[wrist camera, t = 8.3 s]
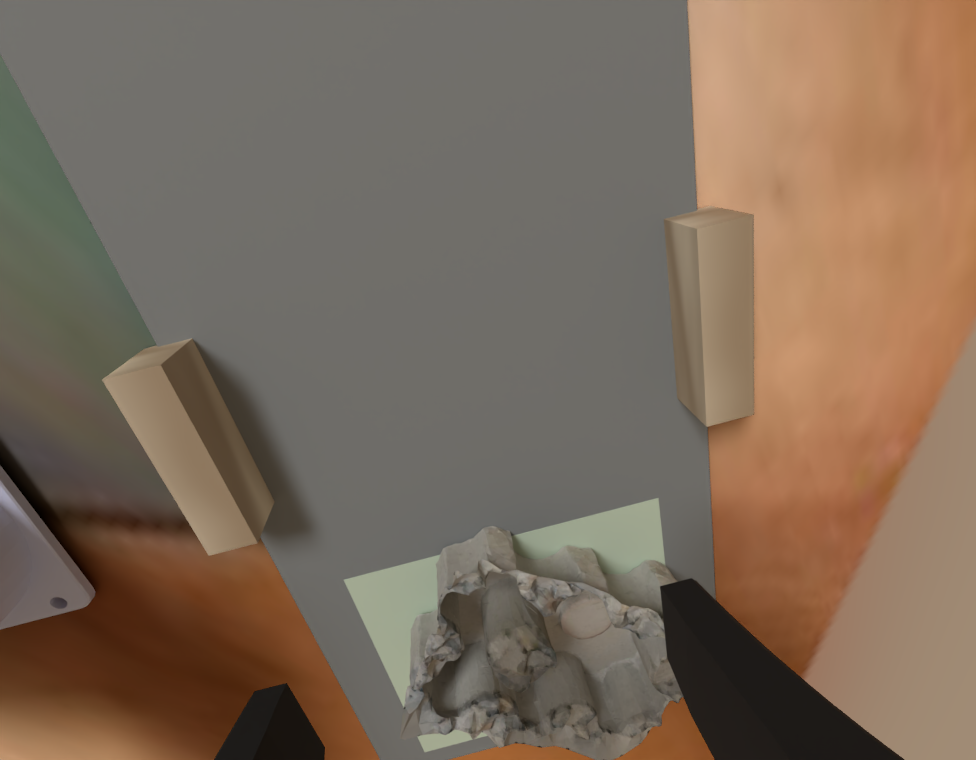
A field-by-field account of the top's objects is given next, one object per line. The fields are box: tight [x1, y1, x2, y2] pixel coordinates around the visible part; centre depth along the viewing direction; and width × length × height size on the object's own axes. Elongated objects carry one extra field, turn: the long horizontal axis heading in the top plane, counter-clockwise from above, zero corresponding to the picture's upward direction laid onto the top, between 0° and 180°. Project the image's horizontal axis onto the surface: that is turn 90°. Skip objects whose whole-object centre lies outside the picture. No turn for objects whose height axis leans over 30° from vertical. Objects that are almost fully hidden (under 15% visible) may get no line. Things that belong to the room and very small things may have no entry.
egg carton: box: [400, 526, 681, 760], centre depth 19 cm, size 11×8×4 cm
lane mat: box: [0, 0, 716, 760], centre depth 17 cm, size 16×37×1 cm, turn 13°
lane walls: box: [102, 206, 754, 555], centre depth 15 cm, size 17×6×2 cm, turn 103°
